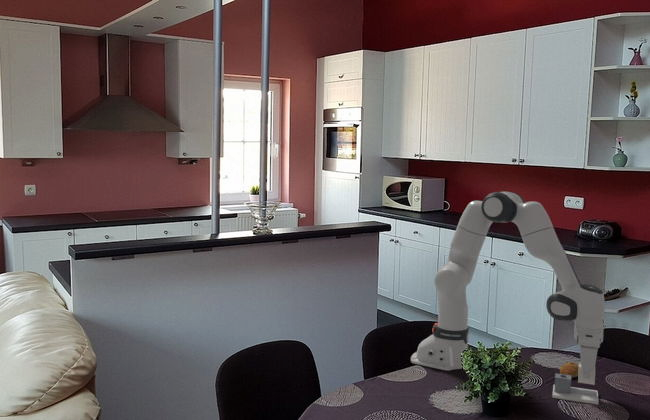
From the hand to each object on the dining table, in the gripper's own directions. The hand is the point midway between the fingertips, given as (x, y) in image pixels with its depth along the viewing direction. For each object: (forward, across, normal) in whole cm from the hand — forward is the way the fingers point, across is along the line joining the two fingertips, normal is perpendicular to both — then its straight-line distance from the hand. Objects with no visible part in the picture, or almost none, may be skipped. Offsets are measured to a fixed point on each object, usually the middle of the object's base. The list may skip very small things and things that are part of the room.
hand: (586, 375), depth 205 cm
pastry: (+8, -21, -5) cm, 23 cm away
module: (+2, 0, 0) cm, 2 cm away
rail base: (+7, 0, -3) cm, 8 cm away
